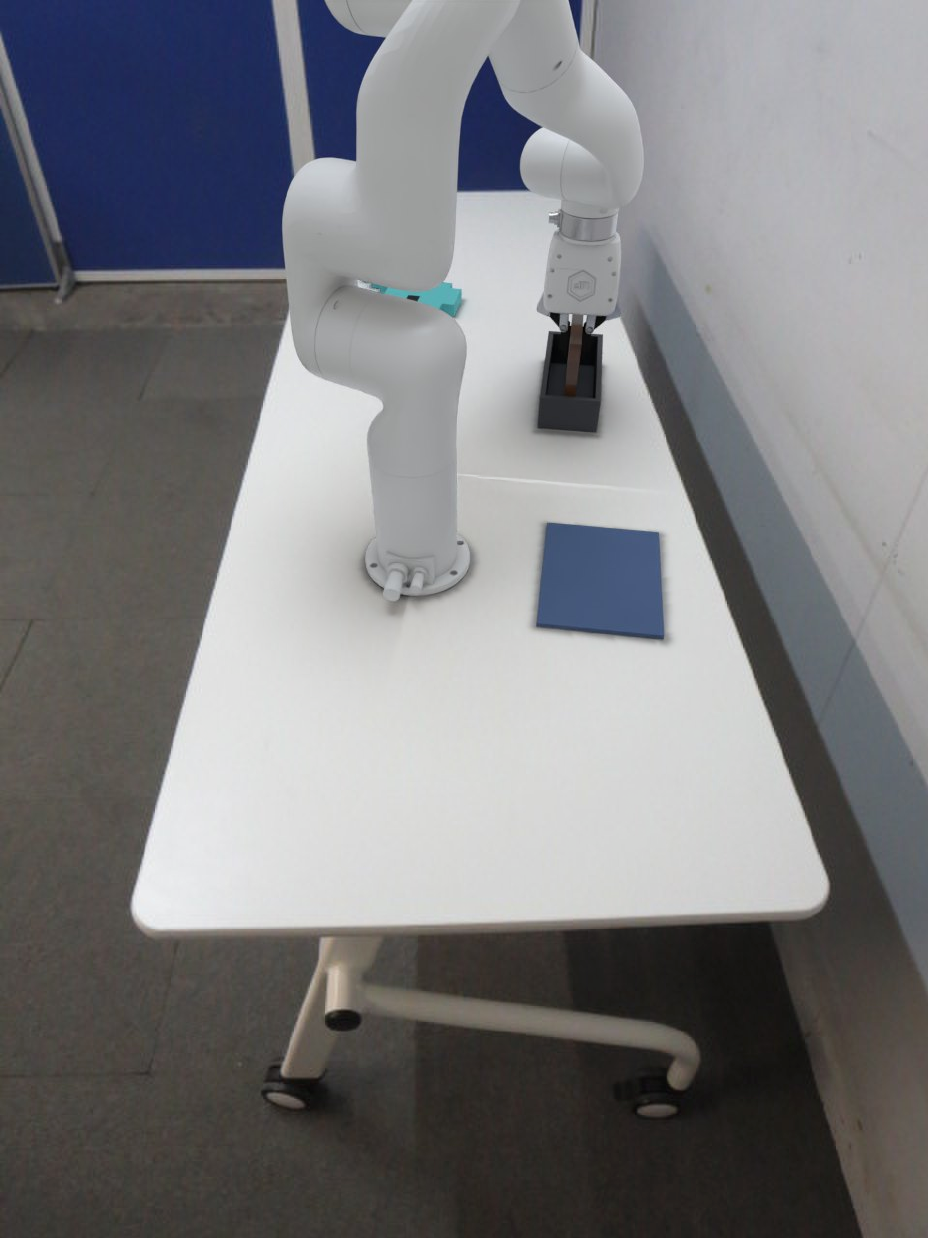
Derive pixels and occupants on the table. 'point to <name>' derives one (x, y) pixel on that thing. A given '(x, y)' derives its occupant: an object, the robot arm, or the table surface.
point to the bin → (586, 403)
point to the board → (573, 355)
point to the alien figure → (431, 296)
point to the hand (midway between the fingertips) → (573, 353)
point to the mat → (601, 581)
